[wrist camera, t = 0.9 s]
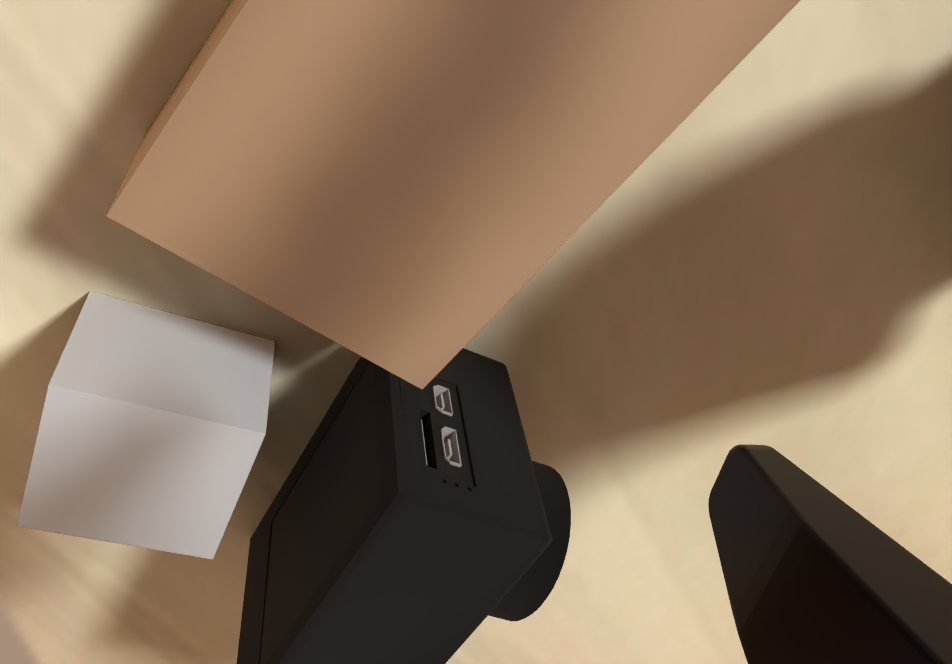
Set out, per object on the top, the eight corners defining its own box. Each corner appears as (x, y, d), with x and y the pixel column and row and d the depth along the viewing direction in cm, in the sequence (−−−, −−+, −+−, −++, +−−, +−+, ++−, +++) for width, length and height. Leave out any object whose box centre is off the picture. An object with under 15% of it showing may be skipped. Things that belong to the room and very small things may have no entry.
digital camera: (390, 574, 30) (402, 764, 25) (249, 539, 28) (227, 738, 23) (540, 375, 26) (596, 555, 20) (384, 315, 23) (399, 498, 18)
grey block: (275, 338, 24) (265, 434, 20) (228, 457, 26) (212, 559, 23) (91, 288, 22) (49, 384, 19) (59, 420, 24) (16, 526, 21)
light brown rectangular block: (734, -61, 19) (817, -18, 15) (411, 298, 23) (421, 389, 20) (467, -364, 15) (503, -390, 12) (144, 136, 19) (105, 215, 16)
